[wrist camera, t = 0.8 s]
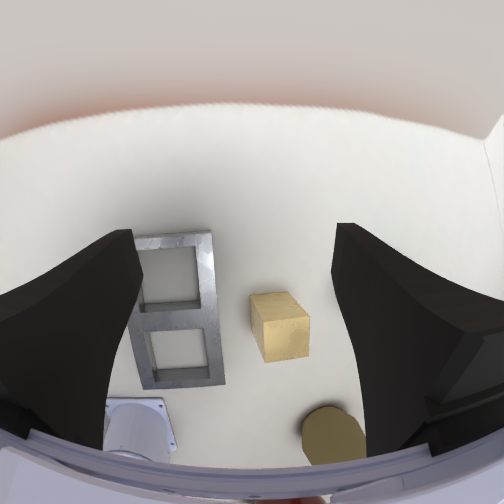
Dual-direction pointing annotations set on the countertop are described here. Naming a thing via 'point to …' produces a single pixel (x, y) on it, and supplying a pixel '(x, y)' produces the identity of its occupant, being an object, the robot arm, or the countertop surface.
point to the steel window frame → (179, 318)
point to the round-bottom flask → (293, 501)
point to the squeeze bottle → (332, 437)
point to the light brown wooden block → (279, 326)
